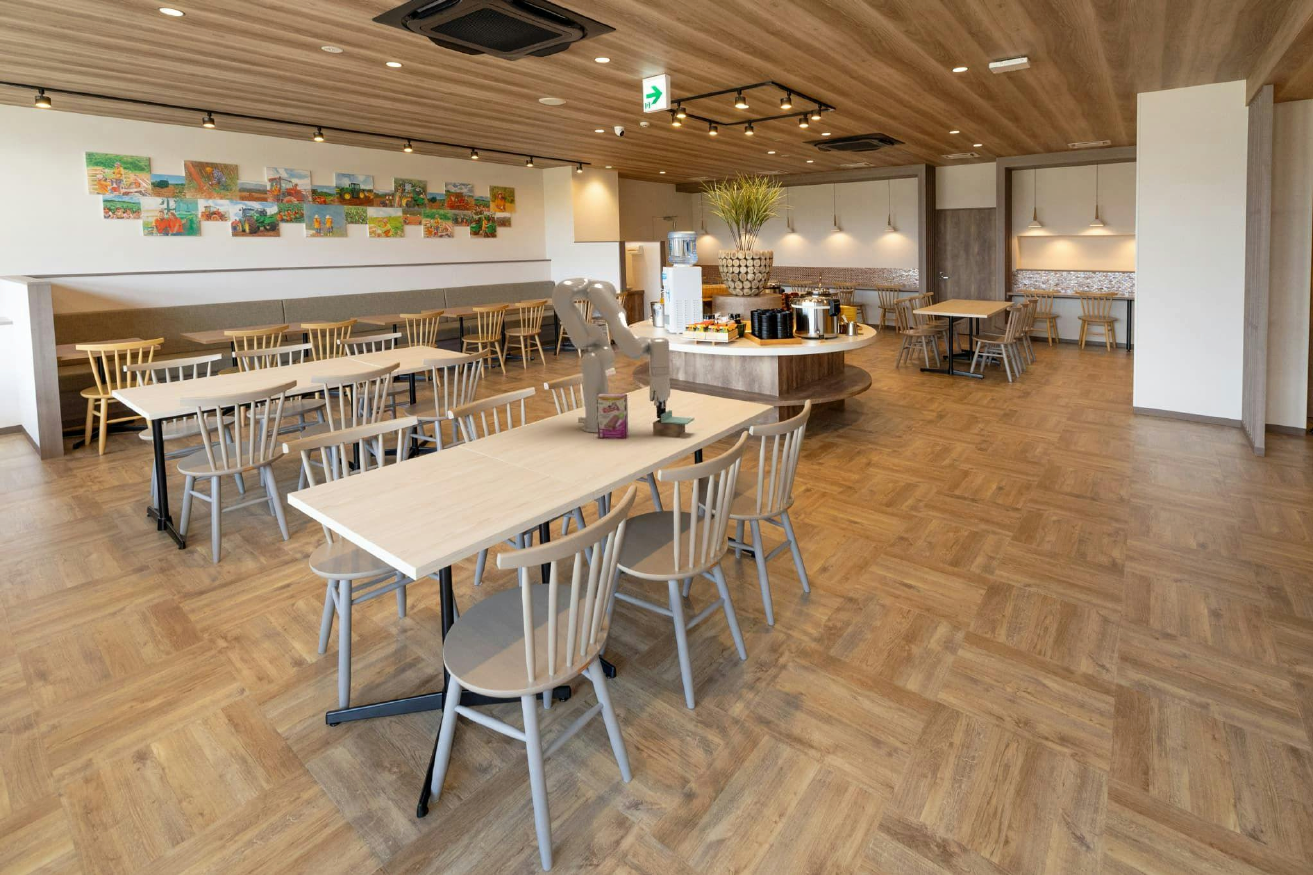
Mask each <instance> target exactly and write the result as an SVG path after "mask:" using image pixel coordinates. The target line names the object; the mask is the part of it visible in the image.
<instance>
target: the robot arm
mask: <svg viewBox="0 0 1313 875" xmlns="http://www.w3.org/2000/svg"><path fill="white" fill-rule="evenodd" d="M617 295H618V294H617V289H616V287H615V286H614V285H613V283H611V282H609V281H605V280H597V279H591V278H590V279H589V278H584V277H575V278H567V279H563V280H561V281H560V282H558V283H557V284H556V285H555V287H554V288H553V291H552V294H551V302H552V306H553V309H554V311H555V314H556V315H557V317H558V318H559V320H560V322H561V323H562V326H563V328H564V330H565V331H566V334H567V336H568V337H569V340H570V341H571V343H572V345H573V346H574V347H575V348H576V349H577V350H587V352H586V353H585V354H583V356H582V358H581V359H580V370H581V373H582V380H583V393H584V410H585V411H584V412H585V417H583V416H582V417H581V416H579V417H578V419H577V423H578V424H583V425H582V431H584V432H587V433H598V415H597V396H598V395H599V394H610V391H609V381H608V378H607V373H606V372H607V371H609V370H611V369H612V368H613V367H614V366H615V363H616V355H615V351H614V349H613V348H612V346H611V344H610V342H609V340H608V338H607V336H606V334H605V333H604V331H603V329H602V328H601V326H600V325H598V324H596V323H594V322H587V321H586V319H585V318H584V315H583V313H582V311H581V309H579V308H578V307H577V306H576V304H575V301H589V303H591V305H592V307H594V309H595V310H596V311H597V313H598V314H599V315H600V316H601V318H602V319H603V320H604V322H605V323H606V324H607V326H608V328H609V332H610V335H611V336H612V339H613V341H614V343H615V344H616V345H617V347H618V348H619V349H620V350H621V352H622V353H623V354H624V355H625V356H626V357H627V358H628V359H630V360H634V361H635V360H639V359H642V358H645V357H649V376H650V378H649V401H650V402H653V406H655V408H656V418H657V419H658V420H659V419H661V415H662V414H663V413H665V412H667V401H669V400H668V399H669V398H671V383H670V381H671V380H670V375H671V366H670V365H671V364H670V341H669V339H667V338H665V337H655V338H654V337H647V336H639V337H636V336H634V334H633V333H632V332H631V330H630V329H629V327H628V324H627V311H626V310H625V308H624V307H623V306H622V304H621V303H620V302H619V301H618V300H617Z"/></svg>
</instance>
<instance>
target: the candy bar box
mask: <svg viewBox="0 0 1313 875" xmlns="http://www.w3.org/2000/svg"><path fill="white" fill-rule="evenodd" d="M628 408H629V406H628V394H626V393H609V394H599V395H598V396H597V415H598V432H597V434H598V435H597V437H598V439H627V438H628V436H629V414H628V413H629V409H628Z"/></svg>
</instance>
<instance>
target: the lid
mask: <svg viewBox="0 0 1313 875" xmlns="http://www.w3.org/2000/svg"><path fill="white" fill-rule="evenodd" d="M693 421H695V418H694V417H684V416H683V417H682V416H673V410H666V412H665V413H663V414H662V415H661V423H673V424H685V426H687V425H689V424H690V423H691V422H693Z"/></svg>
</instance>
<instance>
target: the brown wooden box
mask: <svg viewBox="0 0 1313 875" xmlns="http://www.w3.org/2000/svg"><path fill="white" fill-rule="evenodd" d="M652 433H653V434H652V435H653V436H658V437H667V438H668V437H669V438H670V437H671V438H679V437H680V436H682V435H683V434H685V433H686V424H673V423H661V419H659V418H658V419H657V420H655V421H654V422H652Z"/></svg>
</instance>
